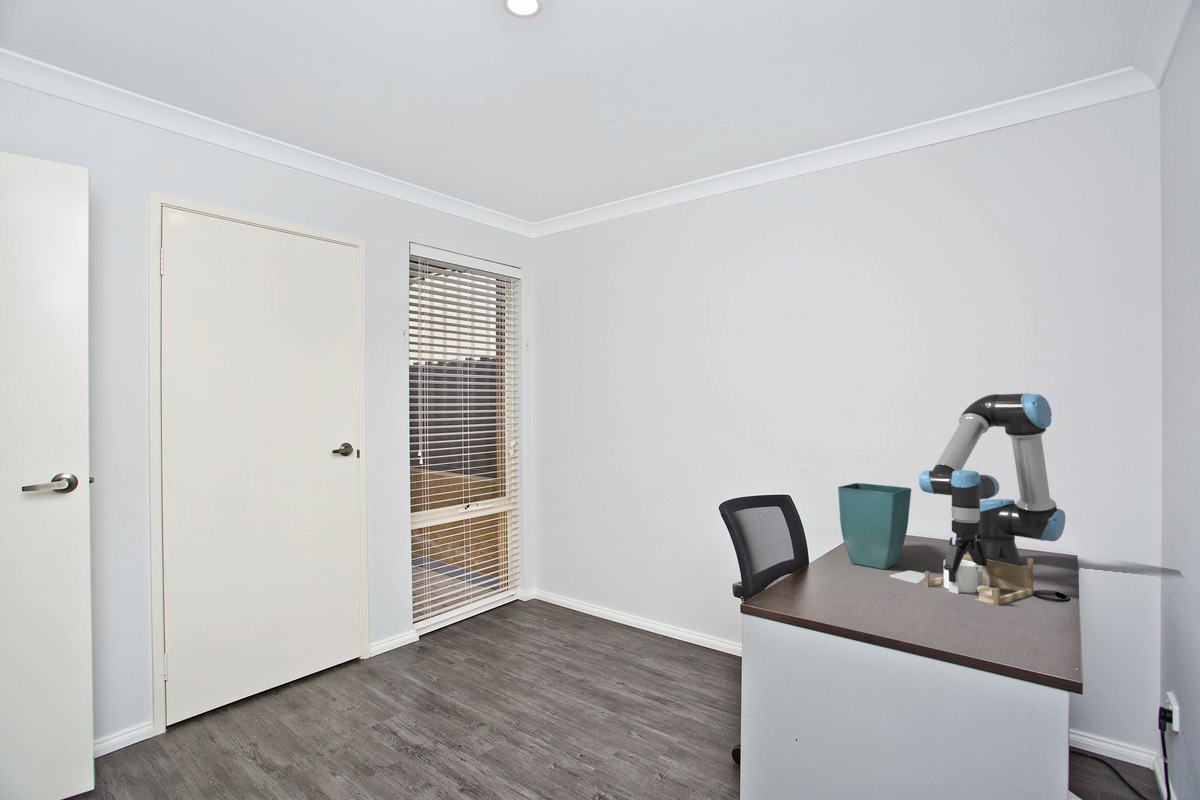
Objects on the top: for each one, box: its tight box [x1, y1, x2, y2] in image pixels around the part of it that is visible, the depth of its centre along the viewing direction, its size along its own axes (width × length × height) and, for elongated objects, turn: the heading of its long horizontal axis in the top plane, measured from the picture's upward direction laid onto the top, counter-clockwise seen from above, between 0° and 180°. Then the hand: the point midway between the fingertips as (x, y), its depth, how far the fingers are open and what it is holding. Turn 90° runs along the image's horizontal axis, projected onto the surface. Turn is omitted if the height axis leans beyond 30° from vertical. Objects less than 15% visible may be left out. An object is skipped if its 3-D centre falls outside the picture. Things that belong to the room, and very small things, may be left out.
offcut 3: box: [975, 597, 994, 605], centre depth 172 cm, size 5×4×2 cm
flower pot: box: [837, 482, 912, 570], centre depth 218 cm, size 20×20×28 cm
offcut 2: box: [978, 592, 994, 604], centre depth 172 cm, size 4×4×2 cm
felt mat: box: [889, 569, 925, 584], centre depth 199 cm, size 12×12×1 cm
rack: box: [924, 554, 1034, 606], centre depth 182 cm, size 21×21×12 cm
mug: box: [943, 558, 990, 594], centre depth 183 cm, size 12×9×9 cm
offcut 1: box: [976, 584, 995, 595], centre depth 173 cm, size 4×3×2 cm
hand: (965, 589), depth 183 cm, fingers open, 13 cm apart
